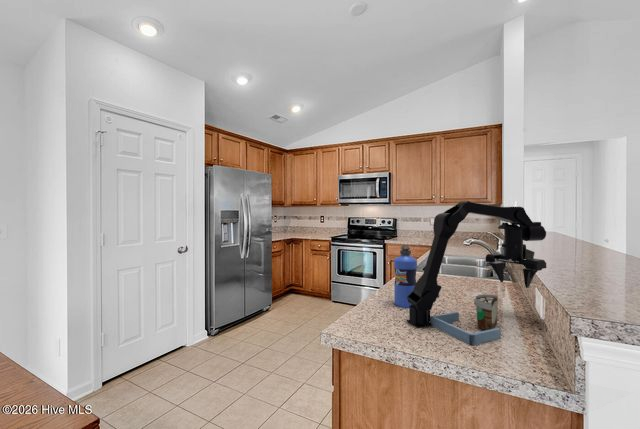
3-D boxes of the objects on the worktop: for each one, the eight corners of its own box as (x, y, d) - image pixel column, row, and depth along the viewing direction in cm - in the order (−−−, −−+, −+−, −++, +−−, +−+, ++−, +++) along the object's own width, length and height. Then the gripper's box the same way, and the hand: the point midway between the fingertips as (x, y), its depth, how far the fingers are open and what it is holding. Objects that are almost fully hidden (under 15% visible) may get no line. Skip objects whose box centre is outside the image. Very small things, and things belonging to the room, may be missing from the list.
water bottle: (409, 309, 118) (408, 247, 118) (389, 304, 126) (389, 245, 125) (421, 304, 125) (421, 245, 124) (402, 299, 132) (402, 243, 131)
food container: (478, 319, 107) (478, 292, 107) (497, 323, 103) (497, 295, 103) (469, 330, 98) (469, 300, 98) (491, 335, 94) (491, 303, 94)
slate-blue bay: (472, 345, 87) (472, 335, 87) (430, 325, 103) (430, 316, 103) (500, 338, 91) (500, 328, 91) (456, 319, 107) (456, 311, 107)
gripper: (556, 242, 102) (556, 288, 102) (503, 238, 119) (504, 277, 119) (535, 244, 97) (535, 292, 97) (484, 239, 114) (484, 280, 115)
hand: (514, 284), depth 107 cm, fingers open, 9 cm apart
